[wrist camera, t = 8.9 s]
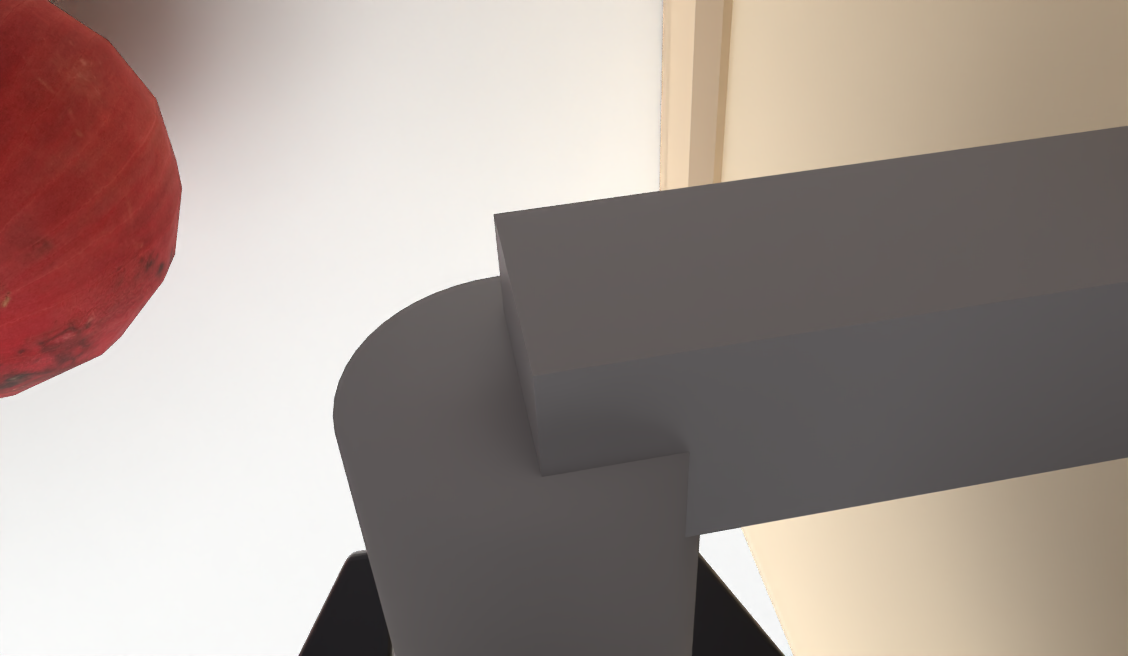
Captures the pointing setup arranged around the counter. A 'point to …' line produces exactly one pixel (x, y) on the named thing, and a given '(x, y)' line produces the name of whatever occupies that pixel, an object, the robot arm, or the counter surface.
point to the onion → (75, 194)
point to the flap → (789, 360)
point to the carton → (676, 92)
